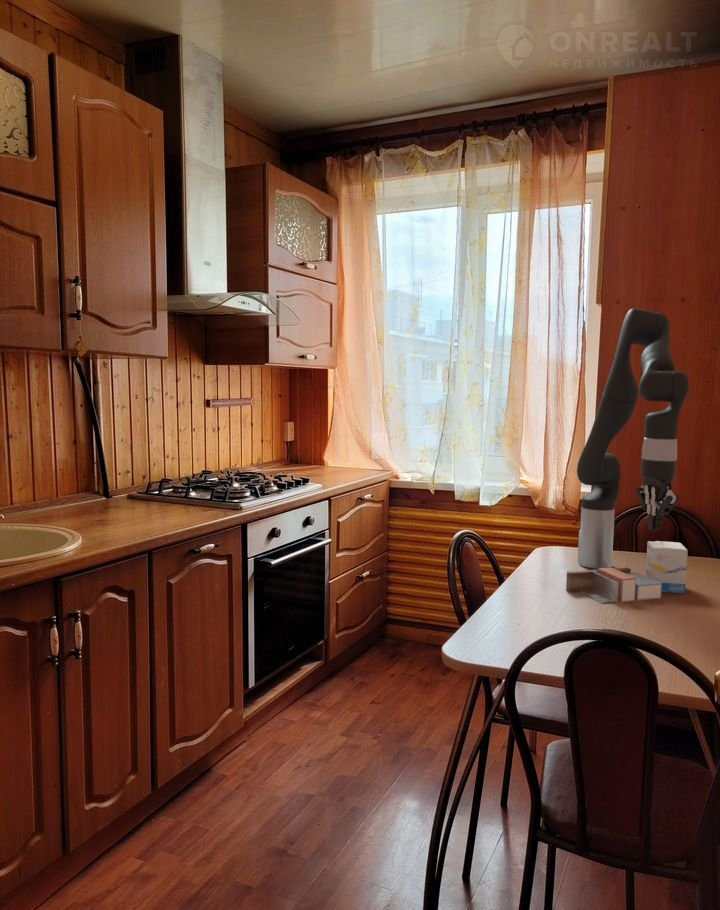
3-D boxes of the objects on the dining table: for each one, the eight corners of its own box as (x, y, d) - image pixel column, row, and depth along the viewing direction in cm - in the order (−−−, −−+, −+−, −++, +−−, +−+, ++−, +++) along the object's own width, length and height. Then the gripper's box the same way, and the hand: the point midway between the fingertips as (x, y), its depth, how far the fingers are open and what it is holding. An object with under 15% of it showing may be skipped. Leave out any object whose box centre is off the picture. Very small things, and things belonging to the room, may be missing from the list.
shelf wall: (566, 590, 181) (566, 571, 181) (626, 585, 186) (627, 567, 185) (569, 592, 180) (570, 573, 179) (629, 587, 184) (630, 569, 184)
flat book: (612, 588, 183) (613, 574, 183) (635, 587, 185) (636, 572, 184) (637, 600, 173) (637, 584, 173) (661, 598, 175) (662, 583, 175)
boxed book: (597, 590, 182) (598, 568, 181) (610, 589, 183) (611, 567, 182) (620, 602, 172) (622, 579, 172) (634, 601, 173) (636, 578, 173)
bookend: (579, 591, 181) (580, 572, 180) (594, 590, 182) (594, 571, 181) (602, 603, 171) (603, 583, 170) (617, 602, 172) (618, 582, 171)
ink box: (686, 593, 180) (688, 549, 178) (651, 591, 181) (653, 547, 180) (677, 584, 188) (680, 541, 187) (644, 582, 190) (646, 539, 188)
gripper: (692, 460, 157) (687, 536, 159) (654, 453, 169) (649, 524, 172) (664, 461, 155) (658, 538, 157) (627, 454, 168) (623, 525, 170)
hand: (654, 530), depth 164 cm, fingers closed
